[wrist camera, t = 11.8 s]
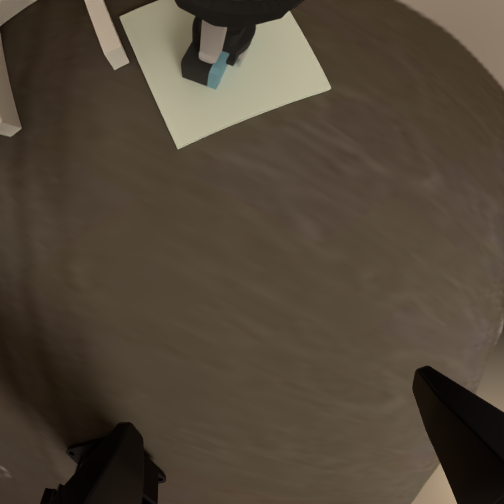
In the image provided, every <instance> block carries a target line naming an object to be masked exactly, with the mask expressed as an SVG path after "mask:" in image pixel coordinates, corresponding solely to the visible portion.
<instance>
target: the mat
mask: <svg viewBox="0 0 504 504" xmlns="http://www.w3.org/2000/svg"><path fill="white" fill-rule="evenodd" d="M119 18H120V20H121V23H122V25H123V27H124V30H125V32H126V34H127V37H128V39H129V41H130V44H131V46H132V48H133V50H134V53H135V55H136V57H137V60H138V62H139V64H140V66H141V69H142V71H143V73H144V76H145V78H146V80H147V82H148V85H149V87H150V89H151V91H152V94H153V96H154V98H155V100H156V103H157V105H158V107H159V109H160V111H161V114H162V116H163V118H164V120H165V122H166V125H167V127H168V129H169V131H170V133H171V136H172V138H173V140H174V142H175V144H176V147H177V149H180V148H182V147H184V146H186V145H188V144H191V143H193V142H195V141H197V140H199V139H202V138H204V137H206V136H208V135H211V134H213V133H215V132H217V131H220V130H222V129H224V128H227V127H229V126H232V125H234V124H236V123H239V122H241V121H244V120H246V119H249V118H251V117H254V116H256V115H259V114H262V113H264V112H267V111H270V110H272V109H275V108H278V107H280V106H283V105H286V104H289V103H292V102H295V101H298V100H300V99H303V98H306V97H309V96H313V95H316V94H319V93H322V92H325V91H328V90H330V89H331V86H330V84H329V82H328V80H327V78H326V76H325V74H324V72H323V70H322V68H321V66H320V64H319V62H318V60H317V59H316V57H315V55H314V53H313V51H312V49H311V47H310V46H309V44H308V42H307V40H306V38H305V37H304V35H303V33H302V31H301V30H300V28H299V26H298V24H297V23H296V21H295V19H294V18H293V16H292V14H291V13H290V11H288V12H287V13H286V14H285V15H284V16H283V17H282V18H281V19H277V20H273V21H269V22H265V23H261V24H258V25H256V31H255V34H254V37H253V39H252V41H251V44H250V46H249V49H248V51H247V54H246V56H245V58H244V60H243V62H242V64H241V65H240V67H238V66H239V63H240V61H241V59H240V58H238V59H237V61H236V62H235V64H234V66H231V65H228V67H227V68H226V70H225V72H224V74H223V76H222V78H221V81H220V83H219V85H218V87H217V89H216V90H215V89H213V88H210V87H207V86H204V85H202V84H199V83H196V82H194V81H191V80H188V79H185V78H182V71H181V60H182V58H183V56H184V54H185V53H186V51H187V49H188V47H189V46H190V44H191V42H192V24H193V21H194V18H195V16H194V15H192V14H190V13H188V12H186V11H184V10H182V9H181V8H179V7H178V6H177V4H176V2H175V1H174V0H158V1H155V2H153V3H150V4H148V5H145V6H143V7H140V8H138V9H136V10H133V11H131V12H129V13H126V14H124V15H122V16H120V17H119Z"/></svg>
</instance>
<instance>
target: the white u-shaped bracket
mask: <svg viewBox="0 0 504 504" xmlns="http://www.w3.org/2000/svg"><path fill="white" fill-rule="evenodd" d="M35 1H37V0H0V26H1V25H2V24H4V23H5V22H6V21H8V20H9V19H10V18H12V17H13V16H15V15H16V14H17V13H19V12H20V11H22V10H23V9H25V8H26V7H27V6H29V5H30V4H32V3H34V2H35ZM84 1H85V4H86V6H87V9H88V12H89V15H90V18H91V20H92V23H93V26H94V29H95V31H96V34H97V37H98V39H99V42H100V44H101V47H102V50H103V52H104V55H105V56H106V58H107V59H108V61H109V62H110V64H111V65H112V67H113V68H114V70H116V69H118V68H120V67H122V66H124V65H126V64H128V63H130V62H129V60H128V58H127V55H126V53H125V50H124V48H123V46H122V43H121V41H120V39H119V36H118V34H117V31H116V29H115V26H114V24H113V22H112V19H111V17H110V14H109V12H108V9H107V7H106V4H105V2H104V0H84ZM21 129H22V127H21V124H20V120H19V117H18V113H17V110H16V106H15V102H14V98H13V94H12V90H11V86H10V82H9V77H8V73H7V68H6V63H5V58H4V52H3V46H2V40H1V33H0V134H1V135H5V136H9V137H11V136H13V135H14V134H15V133H17V132H18V131H19V130H21Z"/></svg>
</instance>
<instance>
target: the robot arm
mask: <svg viewBox="0 0 504 504" xmlns="http://www.w3.org/2000/svg"><path fill="white" fill-rule="evenodd" d="M412 389H413V393H414V396H415V399H416V402H417V405H418V408H419V411H420V414H421V417H422V420H423V423H424V426H425V429H426V432H427V434H428V436H429V439H430V441H431V443H432V445H433V447H434V450H435V452H436V454H437V456H438V459H439V461H440V463H441V465H442V468H443V470H444V472H445V475H446V477H447V479H448V482H449V484H450V487H451V489H452V492H453V494H454V496H455V499H456V501H457V504H504V412H503V411H501V410H499V409H498V408H496V407H494V406H493V405H491V404H490V403H488V402H486V401H485V400H483V399H482V398H480V397H478V396H477V395H475V394H474V393H472V392H470V391H469V390H467V389H465V388H464V387H462V386H461V385H459V384H457V383H456V382H454V381H453V380H451V379H449V378H448V377H446V376H445V375H443V374H441V373H440V372H438V371H437V370H435V369H433V368H432V367H430V366H424V367H421V368H418V369H417V370H416V371H415V375H414V380H413V386H412ZM66 452H67V454H68V455H69V456H70V457H71V458H72V459H73V460H74V461H75V462H76V463H77V464H78V465H77V468H76V471H75V474H74V475H73V476H72V477H71V478H70V479H69V481H68V482H67V483H66V484H65V485H62V484H59V486H58V488H57V489H48V488H45V491H44V493H43V496H42V499H41V502H40V504H157V503H158V484H160V483H164V482H165V481H166V476H165V475H164V474H163V473H162V472H161V471H160V470H159V469H158V468H157V467H156V466H155V465H154V464H153V463H152V462H151V461H150V460H149V459H148V458H147V457H146V456H145V455H144V454H143V437H142V435H141V434H140V433H139V431H138V430H137V429H136V428H135V427H134V425H133V424H132V423H130V422H120V423H118V424H117V425H116V426H115V428H114V429H113V430H112V431H111V432H110V433H109V435H108V436H106V437H103V438H99V439H96V440H92V441H89V442H85V443H81V444H78V445H74V446H70V447H68V448H67V451H66Z"/></svg>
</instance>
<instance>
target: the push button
mask: <svg viewBox="0 0 504 504" xmlns="http://www.w3.org/2000/svg"><path fill="white" fill-rule="evenodd" d="M174 1H175V2H176V4H177V6H178V7H179V8H181V9H182V10H184V11H186V12H188V13H190V14H192V15H194V16H195V18H194V21H193V24H192V42H191V44H190V46H189V47H188V49H187V51H186V53H185V54H184V56H183V58H182V60H181V71H182V78H185V79H188V80H191V81H194V82H196V83H199V84H202V85H204V86H207V87H210V88H213V89H215V90H216V89H217V87H218V85H219V83H220V81H221V78H222V76H223V74H224V72H225V70H226V68H227V67H228V65H231V66H234V64H235V62H236V61H237V59H238V58H240V59H241V61H240V63H239V66H238V67H240V65H241V64H242V62H243V60H244V58H245V56H246V54H247V51H248V49H249V46H250V44H251V41H252V39H253V37H254V34H255V31H256V25H258V24H261V23H265V22H269V21H273V20H277V19H281V18H282V17H283V16H284V15H285V14H286V13H287V12H288V11H290V10H292V9H293V8H295V7H297V6H298V5H299V4H301V3H302V2H303V1H304V0H174Z"/></svg>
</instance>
